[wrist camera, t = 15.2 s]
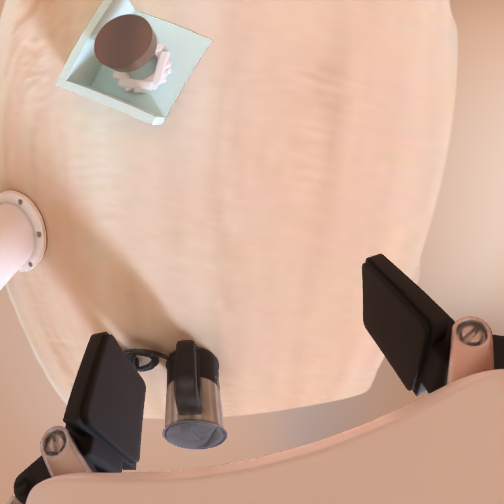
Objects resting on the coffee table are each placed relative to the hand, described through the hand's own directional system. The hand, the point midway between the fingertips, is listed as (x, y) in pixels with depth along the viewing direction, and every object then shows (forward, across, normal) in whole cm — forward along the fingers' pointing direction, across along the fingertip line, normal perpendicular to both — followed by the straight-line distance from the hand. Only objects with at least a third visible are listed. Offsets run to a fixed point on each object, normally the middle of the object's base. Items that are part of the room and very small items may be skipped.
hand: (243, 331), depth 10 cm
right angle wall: (+28, +4, -17) cm, 33 cm away
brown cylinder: (+21, +4, -17) cm, 27 cm away
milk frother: (+28, +16, +27) cm, 43 cm away
